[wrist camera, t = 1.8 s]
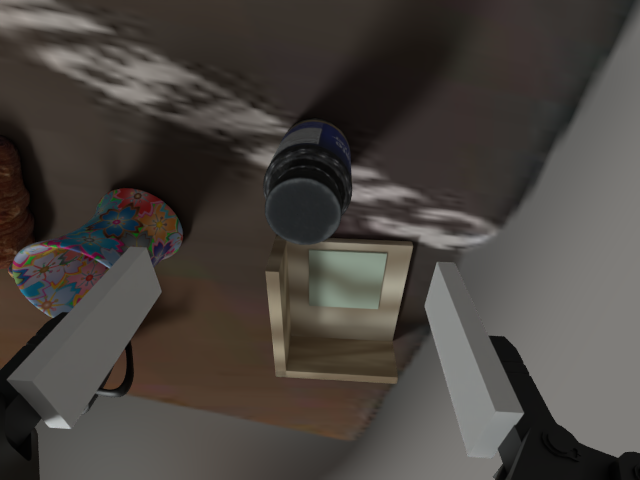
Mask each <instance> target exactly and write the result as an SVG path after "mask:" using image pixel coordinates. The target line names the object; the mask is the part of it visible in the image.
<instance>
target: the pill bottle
mask: <svg viewBox="0 0 640 480" xmlns="http://www.w3.org/2000/svg"><path fill="white" fill-rule="evenodd" d="M263 186H264V187H263V188H264V196H265V199H266V203H265V215H266V219H267V221H268V224H269V225H270V227H271V228H272V230H273V231H274V232H275V233H276V234H277V235H279V236H280V237H281V238H282V239H285V240H286V241H289V242H291V243H295V244H299V245H311V244H316V243H320V242H322V241H324V240H326V239H328V238H329V237H330V236H331V235H332V234H333V233H334V232H335V231H336V229H337V228H338V226H339V224H340V221H341V216H342V215H343V214H344V213H345V211H346V209H347V208H348V206H349V204H350V201H351V197H352V177H351V154H350V147H349V143H348V140H347V138H346V136H345V135H344V133H343V132H342V131H341V130H340V129H338V128H337V127H335V126H334V125H333V124H332V123H331V122H329V121H326V120H323V119H317V118H312V119H306V120H303V121H300V122H298V123H296V124H295V125H293V126H292V127H291V128H290V129H289V130H288V132H287V133H286V134H285V136H284V138H283V140H282V142H281V144H280V145H279V147H278V149H277V151H276V153H275V155H274V157H273V159H272V161H271V163H270V165H269V167H268V169H267V171H266V174H265V177H264V185H263Z"/></svg>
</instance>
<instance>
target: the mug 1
mask: <svg viewBox="0 0 640 480" xmlns="http://www.w3.org/2000/svg"><path fill="white" fill-rule="evenodd" d="M182 240H183V231H182V226H181V224H180V221H179V219H178V217H177V216H176V214H175V213H174V212H173V210H172V209H171V208H170V207H169V206H168V205H167V204H166V203H164V202H163V201H162V200H161V199H159V198H157V197H156V196H154V195H152V194H150V193H147V192H145V191H142V190H138V189H132V188H122V189H116V190H113V191H111V192H109V193H107V194H106V195H104V196H103V197H102V198H101V200H100V202H99V203H98V206H97V211H96V213H95V215H94V216H93V218H92V219H91V220H90V221H89V222H87V223H86V224H85V225H83V226H82V227H81V228H79V229H77V230H75V231H73V232H71V233H69V234H66V235H64V236H61V237H58V238H54V239H51V240H46V241H41V242H36V243H33V244H30V245H28V246H26V247H24V248H23V249H22V250H20V251H19V252H18V253H17V255H16V256H15V258H14V261H13V263H11V264H10V266H9V267H8V272H9V274H10V275H11V276H12V277H13V278H14V279H15V281H16V284H17V286H18V287H19V289H20V290H21V292H22V293H23V294H24V295H25V297H26V298H27V299H28V300H29V301H30V302H31V303H32V304H33V305H35V306H36V307H37V308H38V309H40V310H41V311H42V312H44V313H45V314H47V315H49V316H50V317H52V318H54V317H55V316H57V315H59V314H60V313H62V312H70V311H71V310H72V309H73V308H74V306H75V305H76V304H77V303H78V302H79V301H80V300H81V299H82V298H83V297H84V296H85V295H86V294H87V292H88V291H89V290H90V289H91V288H92V287H93V286H94V285H95V284H96V283H97V282H98V281H99V280H100V278H101V277H102V276H103V275H104V274H105V273H106V272H107V271H108V270H109V269H110V268H111V267H112V266H113V265H114V263H115V262H116V261H117V260H118V259H119V258H120V257H121V256H122V255H123V254H124V253H125V252H126V251H127V249H128V248H129V247H147V250H148V253H149V256H150V259H151V262H152V265H153V268H154V267H155V265H156V264H157V263H159V262H160V261H161V260H163V259H166V258H168V257H170V256H172V255H173V254H175V253H176V252H177V251H178V249H179V248H180V246H181V243H182Z"/></svg>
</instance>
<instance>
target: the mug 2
mask: <svg viewBox="0 0 640 480" xmlns="http://www.w3.org/2000/svg"><path fill="white" fill-rule="evenodd" d="M125 350H126V358H127V368H126V375H125V378H124V381H123V383H122V384H121V385H120V386H119V387H118V388H116V389H112V390H108V389H103V387H104V385H105V384H106V382H107V380H108V378H109V376H110V374H111V371H112V369H113V367H114V365H113V367H112V368H111V370H110V371H109V373H108V374H107V376H106V377H105V379H104V380H103V382H102V383H101V385H100V387H99V388H98V390H97V391H96V393H95V394H94V396H93V397H92V399H91V400H90V402H89V403H88V405H87V406H86V408H85V409H84V411H83V412H82V414H81V415H83V414H85V413H86V412H87V411H89V409H90V407H91V406H92V404H93V403H94V401H95V400H96V398H97V397H98V395H101V396H106V397H121V396H124V395H125V394H126V393H127V392H128V391H129V389H130V387H131V385H132V381H133V377H134V368H133V355H132V346H131V341H129V343H128V344H127V346H126V347H125Z"/></svg>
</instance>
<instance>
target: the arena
mask: <svg viewBox="0 0 640 480" xmlns="http://www.w3.org/2000/svg"><path fill="white" fill-rule="evenodd" d="M412 249H413V244H412V242H411V241H388V240H366V239H343V238H328V239H326V240H324V241H322V242H320V243H316V244H311V245H299V244H295V243H291V242H289V241H286V240H285V239H282V238H281V237H280V236H276V238H275V241H274V245H273V248H272V251H271V255H270V258H269V261H268V265H267V268H266V271H265V272H266V281H267V291H268V301H269V311H270V321H271V331H272V340H273V350H274V360H275V370H276V376H277V377H293V378H310V379H327V380H344V381H360V382H377V383H394V384H396V383H397V379H398V375H397V368H396V362H395V356H394V349H393V343H392V340H393V336H394V331H395V327H396V322H397V318H398V313H399V308H400V304H401V299H402V295H403V290H404V286H405V281H406V276H407V272H408V267H409V263H410V258H411V254H412Z"/></svg>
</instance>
